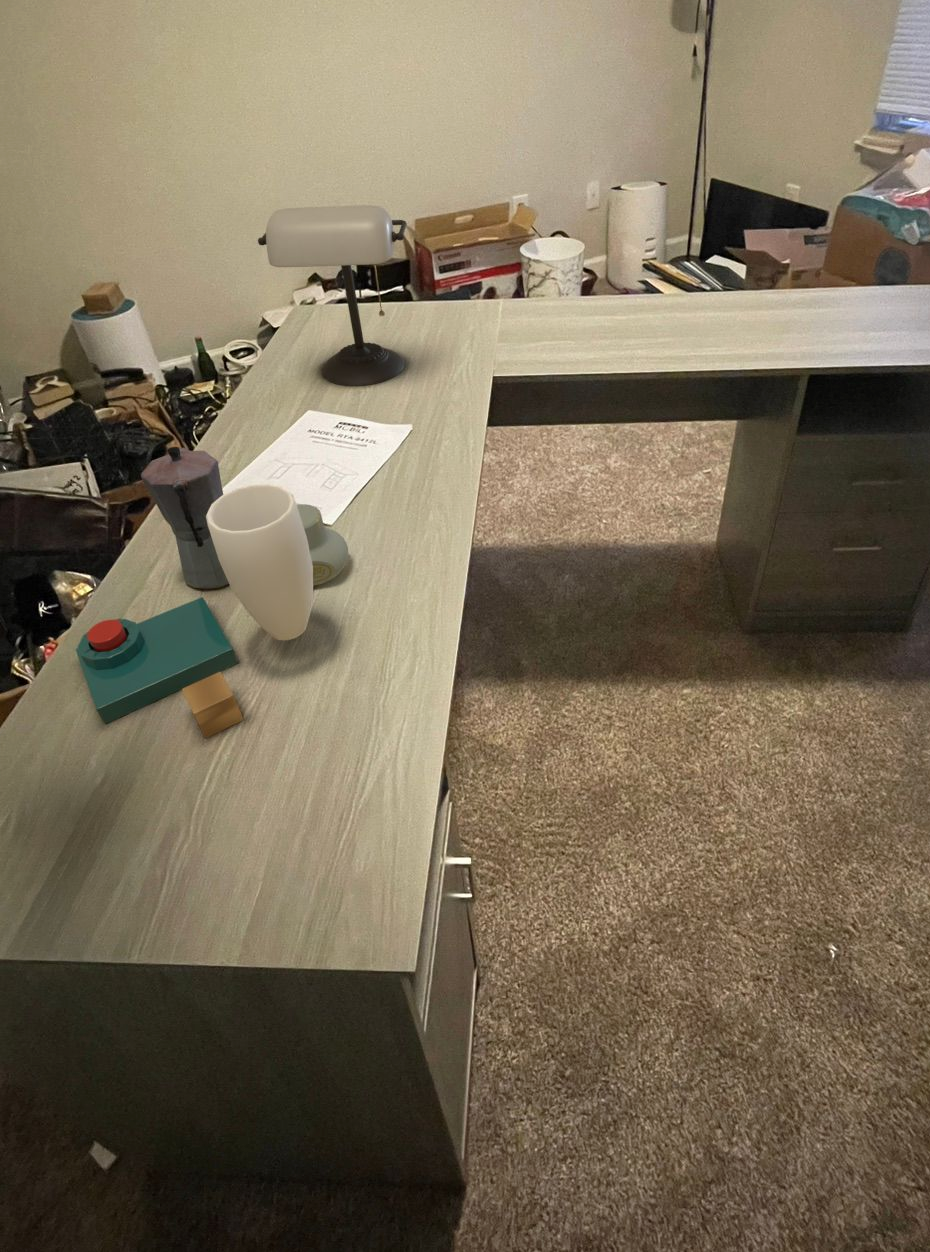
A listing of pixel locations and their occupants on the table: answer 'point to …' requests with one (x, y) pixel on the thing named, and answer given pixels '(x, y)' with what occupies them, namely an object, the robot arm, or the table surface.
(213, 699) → the block
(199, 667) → the button base
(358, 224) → the lamp
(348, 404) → the table surface
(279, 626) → the cup
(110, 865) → the table surface
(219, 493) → the moka pot
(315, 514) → the air freshener
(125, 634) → the red button
